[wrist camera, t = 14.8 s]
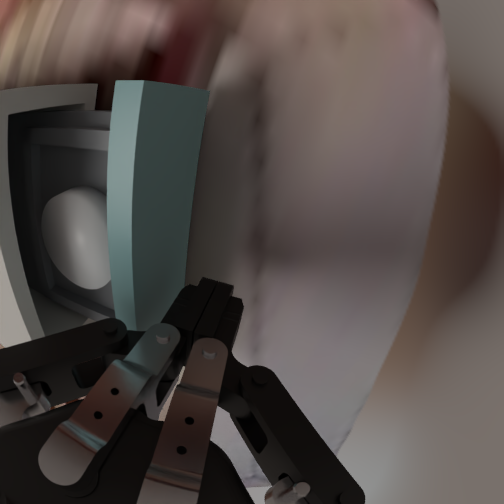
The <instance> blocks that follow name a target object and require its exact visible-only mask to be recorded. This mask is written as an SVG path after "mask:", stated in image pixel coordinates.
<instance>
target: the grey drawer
mask: <svg viewBox="0 0 504 504" xmlns="http://www.w3.org/2000/svg"><path fill="white" fill-rule="evenodd" d="M209 94H210V91H208V90H203V89H197V88H192V87H186V86H180V85H174V84H168V83H161V82H153V81H145V80H116V83H115V90H114V97H113V104H112V111H111V110H56V111H37V112H24V113H14V114H9V115H8V137H7V145H8V173H9V186H10V196H11V204H12V212H13V219H14V225H15V231H16V236H17V242H18V247H19V251H20V256H21V260H22V264H23V268H24V272H25V276H26V280H27V284H28V287H30V288H32V289H34V290H35V291H37V292H39V293H41V294H43V295H44V296H45V297H47V298H49V299H51V300H52V301H54V302H56V303H58V304H60V305H62V306H64V307H66V308H69V309H71V310H73V311H75V312H77V313H79V314H81V315H83V316H86V317H88V318H90V319H92V320H94V321H99V320H102V319H106V318H116V319H119V320H121V321H122V322H124V323H125V325H126V327H127V330H133V331H147V330H148V328H149V327H151V326H152V325H154V324H158V323H160V322H161V321H162V319H163V317H164V316H165V314H166V313H167V311H168V310H169V308H170V306H171V305H172V303H173V302H174V300H175V299H176V298H177V295H178V294H179V292H180V291H181V289H183V288H184V285H185V272H186V261H187V250H188V239H189V230H190V221H191V212H192V203H193V195H194V188H195V180H196V173H197V166H198V159H199V152H200V146H201V139H202V133H203V127H204V121H205V116H206V110H207V105H208V99H209ZM76 186H89V187H92V188H94V189H97V190H98V191H100V192H102V193H103V194H104V195H105V196H107V230H108V249H109V263H110V274H111V280H110V281H109V282H108V283H107V284H106V285H105V286H103V287H101V288H99V289H86V288H83V287H80V286H78V285H76V284H74V283H73V282H71V281H70V280H69V279H67V278H66V277H65V276H64V275H63V274H62V273H61V272H60V271H59V270H58V268H57V267H56V266H55V264H54V263H53V261H52V260H51V258H50V256H49V254H48V252H47V249H46V247H45V244H44V241H43V236H42V230H41V219H42V213H43V210H44V208H45V206H46V204H47V203H48V201H49V200H50V199H51V198H53V197H55V196H57V195H59V194H61V193H63V192H65V191H67V190H69V189H71V188H73V187H76Z"/></svg>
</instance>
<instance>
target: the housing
mask: <svg viewBox="0 0 504 504" xmlns="http://www.w3.org/2000/svg"><path fill="white" fill-rule="evenodd" d="M97 87H98V84H58V85H42V86H31V87H21V88H13V89H6V90H0V344H2V345H3V346H4V347H5V348H6V347H10V346H13V345H17V344H21V343H24V342H28V341H31V340H35V339H38V338H42V337H45V336H49V335H52V334H55V333H59V332H62V331H66V330H69V329H72V328H76V327H79V326H83V325H86V324H89V323H93V322H96V321H94V320H92V319H90V318H88V317H86V316H83V315H81V314H79V313H77V312H75V311H73V310H71V309H69V308H66V307H64V306H62V305H60V304H58V303H56V302H54V301H52V300H51V299H49V298H47V297H45V296H44V295H43V294H41V293H39V292H37V291H35V290H34V289H32V288H30V287H28V284H27V280H26V276H25V272H24V268H23V264H22V260H21V256H20V251H19V247H18V242H17V236H16V231H15V225H14V219H13V212H12V204H11V196H10V186H9V173H8V145H7V137H8V115H9V114H14V113H24V112H37V111H56V110H95V102H96V94H97Z"/></svg>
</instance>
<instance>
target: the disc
mask: <svg viewBox="0 0 504 504" xmlns="http://www.w3.org/2000/svg"><path fill="white" fill-rule="evenodd" d="M41 230H42V236H43V241H44V244H45V247H46V249H47V252H48V254H49V256H50V258H51V260H52V261H53V263H54V264H55V266H56V267H57V268H58V270H59V271H60V272H61V273H62V274H63V275H64V276H65V277H66V278H67V279H69V280H70V281H71V282H73V283H74V284H76V285H78V286H80V287H83V288H86V289H99V288H101V287H103V286H105V285H106V284H107V283H108V282H109V281H110V280H111V274H110V263H109V249H108V230H107V196H105V195H104V194H103V193H102V192H100V191H98V190H97V189H94V188H92V187H89V186H76V187H73V188H71V189H69V190H67V191H65V192H63V193H61V194H59V195H57V196H55V197H53V198H51V199H50V200H49V201H48V203H47V204H46V206H45V208H44V210H43V213H42V219H41Z"/></svg>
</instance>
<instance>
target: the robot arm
mask: <svg viewBox="0 0 504 504" xmlns="http://www.w3.org/2000/svg"><path fill="white" fill-rule="evenodd" d="M233 289H234V285H230V284H226V283H223V282H218V281H215V280H212V279H208V278H205V277H203V278H202V279H201V281H200V283H199V284H198V286H194V285H191V284H189V285H188V286H186V287H184V288H183V289H181V291H180V292H179V294H178V295H177V298H176V299H175V300H174V302H173V303H172V305H171V306H170V308H169V310H168V311H167V313H166V314H165V316H164V317H163V319H162V321H161V322H160V323H158V324H154V325H152V326H151V327H149V328H148V330H147V331H133V330H127V327H126V325H125V323H124V322H122V321H121V320H119V319H116V318H106V319H102V320H99V321H96V322H93V323H89V324H86V325H83V326H79V327H76V328H72V329H69V330H66V331H62V332H59V333H55V334H52V335H49V336H45V337H42V338H38V339H35V340H31V341H28V342H24V343H21V344H17V345H13V346H10V347H6V348H3V349H0V504H255V503H254V502H253V500H252V498H251V497H250V495H249V493H248V491H247V490H246V488H245V486H244V484H243V482H242V481H241V479H240V477H239V475H238V473H237V471H236V469H235V468H234V466H233V464H232V462H231V460H230V459H229V457H228V456H227V454H226V453H225V452H224V451H223V450H222V449H221V448H220V447H219V446H217V445H216V444H215V443H213V442H212V441H210V437H211V432H212V428H213V423H214V418H215V413H216V409H217V406H219V407H221V408H222V409H224V410H226V411H227V412H229V413H230V417H231V419H232V421H233V422H234V424H235V426H236V428H237V429H238V431H239V433H240V435H241V436H242V438H243V440H244V441H245V443H246V445H247V446H248V448H249V450H250V451H251V453H252V455H253V456H254V458H255V460H256V461H257V463H258V464H259V466H260V468H261V469H262V471H263V472H264V474H265V475H266V477H267V478H268V480H269V481H270V483H271V484H272V487H271V488H269V490H268V491H267V492H266V494H265V504H365V495H364V492H363V490H362V489H361V487H360V486H359V485H358V484H357V482H356V481H355V480H354V479H353V477H352V476H351V475H350V474H349V472H348V471H347V470H346V469H345V467H344V466H343V465H342V464H341V463H340V461H339V460H338V459H337V457H336V456H335V455H334V453H333V452H332V451H331V450H330V448H329V447H328V446H327V444H326V443H325V442H324V440H323V439H322V438H321V437H320V435H319V434H318V433H317V431H316V430H315V429H314V427H313V426H312V425H311V423H310V422H309V421H308V419H307V418H306V416H305V415H304V414H303V412H302V411H301V410H300V408H299V407H298V406H297V404H296V403H295V401H294V400H293V399H292V397H291V396H290V394H289V393H288V392H287V390H286V389H285V387H284V386H283V385H282V383H281V382H280V380H279V379H278V377H277V376H276V375H275V373H274V372H273V371H272V370H270V369H268V368H266V367H264V366H258V365H255V366H250V367H246V366H245V365H243V364H241V363H240V362H238V361H237V360H236V359H235V358H234V356H233V354H232V348H233V345H234V342H235V339H236V335H237V332H238V329H239V325H240V321H241V317H242V312H243V308H244V306H243V302H242V299H240V298H237V297H233V296H232V294H233ZM98 357H99V358H98ZM95 358H96V359H95ZM92 359H93V360H92ZM89 360H90V361H89ZM85 361H87V362H85ZM82 362H83V363H82ZM79 363H80V364H79ZM76 364H77V365H76ZM183 366H185V370H184V373H183V376H182V379H181V382H180V384H179V385H177V386H176V388H175V391H174V394H173V397H172V400H171V403H170V406H169V409H168V412H167V415H166V418H165V421H158V419H159V415H160V412H161V410H162V408H163V406H164V404H165V402H166V401H167V399H168V397H169V395H170V394H171V392H172V390H173V388H174V386H175V385H176V383H177V381H178V379H179V374H180V372H181V370H182V367H183ZM86 395H87V396H86ZM83 396H86V397H85V398H84V399H81V400H78V401H75V402H72V403H69V404H67V405H64V406H61V407H58V408H56V409H53V410H50V407H52V406H56V405H59V404H62V403H65V402H68V401H71V400H74V399H77V398H80V397H83ZM49 410H50V411H49Z"/></svg>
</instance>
